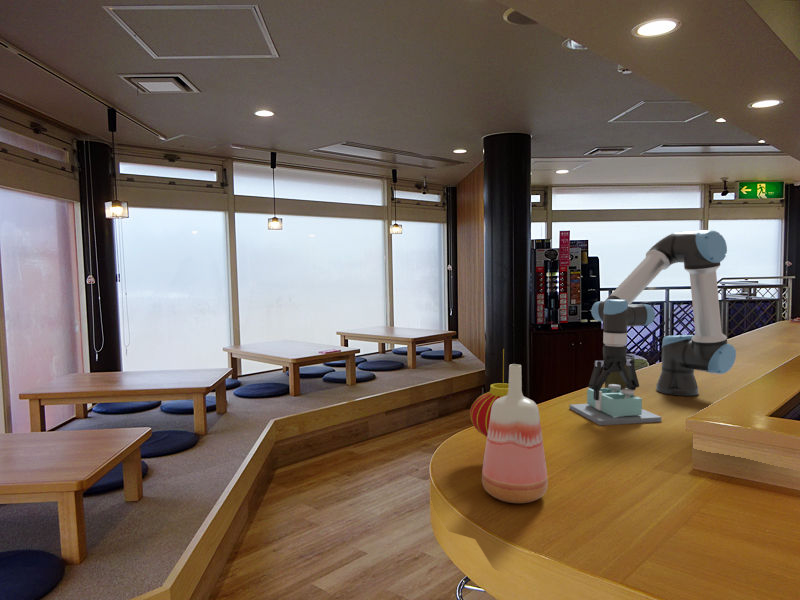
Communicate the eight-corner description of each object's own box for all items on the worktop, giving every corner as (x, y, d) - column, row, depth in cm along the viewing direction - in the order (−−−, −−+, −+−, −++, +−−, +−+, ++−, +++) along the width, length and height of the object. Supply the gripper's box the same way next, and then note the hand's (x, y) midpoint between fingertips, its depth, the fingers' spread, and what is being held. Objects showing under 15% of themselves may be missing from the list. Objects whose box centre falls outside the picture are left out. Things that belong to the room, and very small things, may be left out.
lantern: (463, 468, 134) (464, 352, 132) (477, 446, 150) (478, 342, 148) (531, 477, 128) (533, 355, 126) (538, 453, 144) (540, 345, 142)
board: (625, 405, 192) (625, 380, 192) (661, 421, 173) (662, 393, 172) (569, 408, 188) (569, 383, 188) (600, 425, 169) (600, 397, 168)
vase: (535, 515, 108) (537, 374, 106) (471, 499, 116) (472, 367, 114) (555, 490, 121) (557, 362, 119) (495, 477, 128) (496, 357, 126)
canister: (628, 398, 203) (629, 346, 202) (637, 405, 193) (639, 351, 191) (599, 397, 204) (600, 346, 203) (607, 404, 194) (608, 351, 192)
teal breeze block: (613, 402, 189) (614, 387, 189) (641, 414, 173) (641, 398, 173) (587, 403, 187) (587, 388, 187) (612, 416, 172) (613, 400, 171)
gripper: (638, 342, 185) (636, 403, 186) (578, 344, 181) (576, 407, 182) (652, 345, 177) (650, 409, 179) (589, 347, 173) (588, 413, 175)
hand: (613, 408), depth 180 cm, fingers closed on teal breeze block, 10 cm apart
